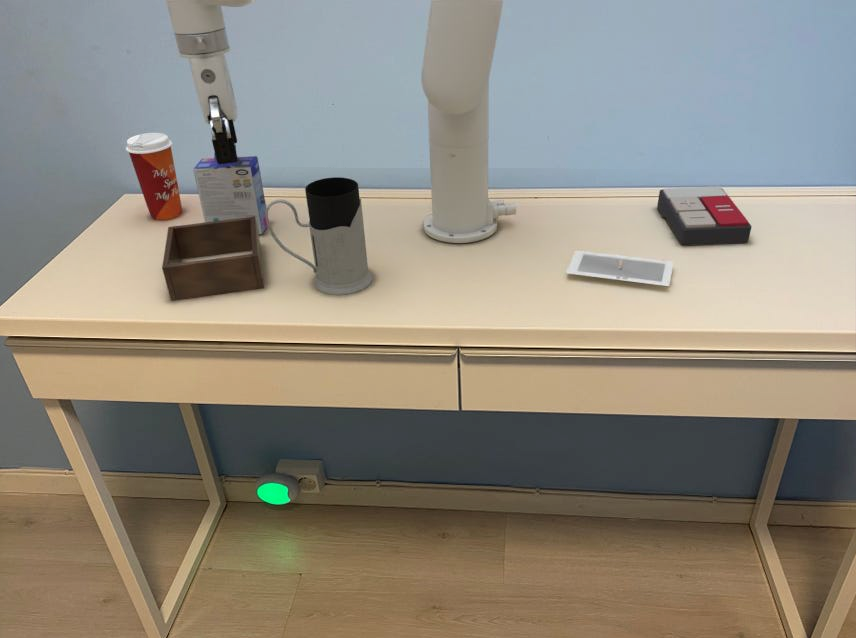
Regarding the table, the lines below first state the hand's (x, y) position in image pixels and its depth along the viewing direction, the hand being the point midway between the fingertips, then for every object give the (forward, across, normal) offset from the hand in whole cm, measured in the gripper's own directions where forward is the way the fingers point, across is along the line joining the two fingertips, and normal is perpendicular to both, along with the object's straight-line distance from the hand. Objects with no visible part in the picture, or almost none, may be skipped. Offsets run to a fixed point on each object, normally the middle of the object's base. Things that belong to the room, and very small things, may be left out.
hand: (227, 153), depth 123 cm
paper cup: (+13, +11, +14) cm, 22 cm away
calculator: (+16, -22, -75) cm, 80 cm away
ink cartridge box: (+14, 0, +1) cm, 14 cm away
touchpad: (+16, -34, -55) cm, 66 cm away
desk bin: (+14, -15, +4) cm, 21 cm away
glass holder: (+14, -23, -12) cm, 30 cm away
